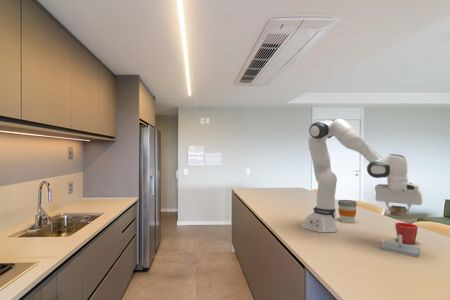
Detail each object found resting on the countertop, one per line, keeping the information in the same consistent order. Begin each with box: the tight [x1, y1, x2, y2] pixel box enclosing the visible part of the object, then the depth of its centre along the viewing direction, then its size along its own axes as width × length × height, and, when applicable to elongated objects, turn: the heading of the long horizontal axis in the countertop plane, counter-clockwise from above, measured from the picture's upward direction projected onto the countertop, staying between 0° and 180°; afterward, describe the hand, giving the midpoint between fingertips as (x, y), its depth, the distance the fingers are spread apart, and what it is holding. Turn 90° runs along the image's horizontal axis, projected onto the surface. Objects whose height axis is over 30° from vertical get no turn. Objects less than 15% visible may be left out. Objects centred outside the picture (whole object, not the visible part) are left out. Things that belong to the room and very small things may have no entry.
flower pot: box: [394, 222, 419, 245], centre depth 146 cm, size 11×11×10 cm
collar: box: [389, 205, 407, 217], centre depth 134 cm, size 6×6×4 cm
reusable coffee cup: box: [337, 199, 358, 224], centre depth 189 cm, size 13×13×15 cm
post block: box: [379, 235, 421, 258], centre depth 134 cm, size 16×12×8 cm
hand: (398, 211), depth 134 cm, fingers closed on collar, 6 cm apart
